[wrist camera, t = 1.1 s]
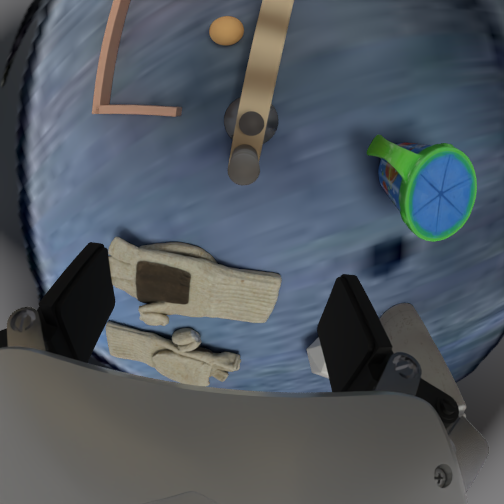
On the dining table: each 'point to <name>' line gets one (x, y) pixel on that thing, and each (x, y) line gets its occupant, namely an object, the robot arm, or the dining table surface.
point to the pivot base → (232, 117)
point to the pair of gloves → (184, 306)
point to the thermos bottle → (420, 348)
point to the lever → (258, 90)
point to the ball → (226, 30)
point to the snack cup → (427, 185)
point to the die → (317, 359)
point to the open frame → (107, 70)
